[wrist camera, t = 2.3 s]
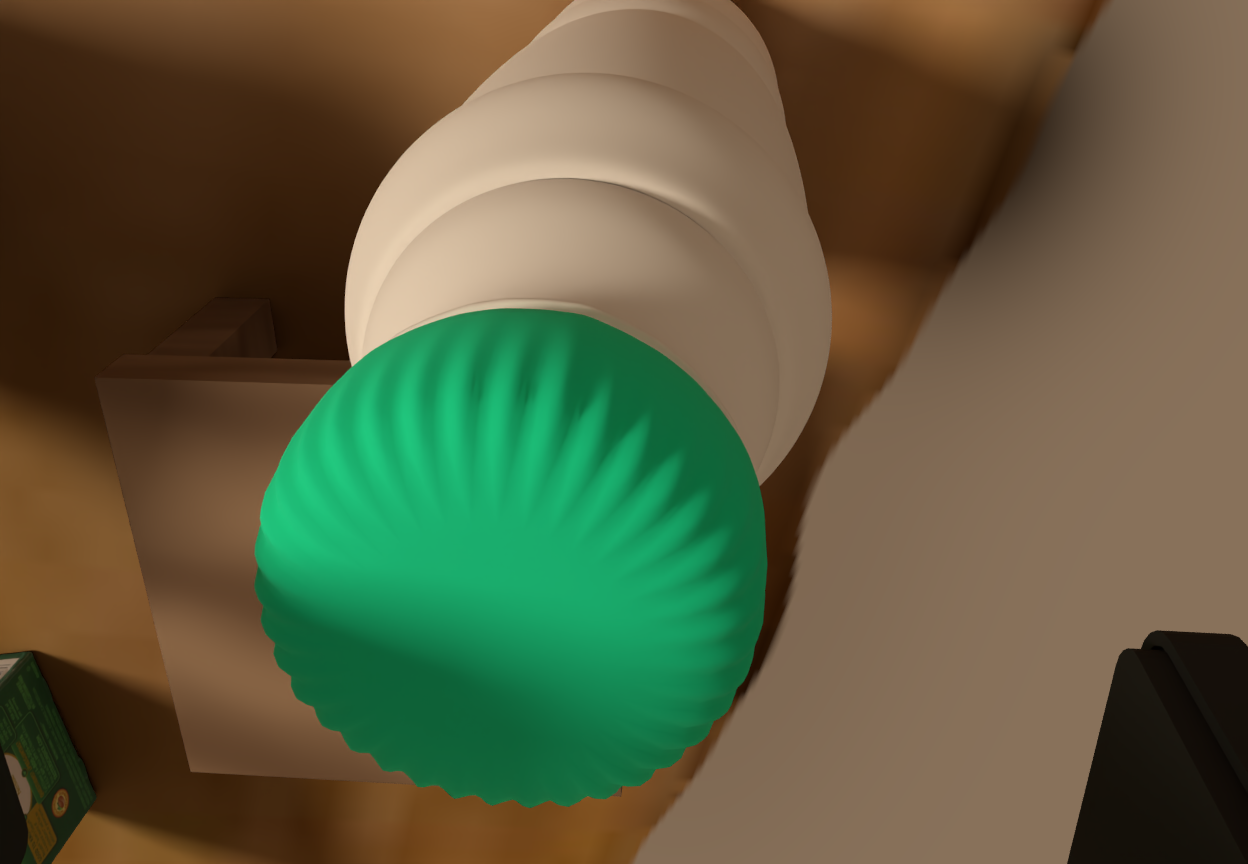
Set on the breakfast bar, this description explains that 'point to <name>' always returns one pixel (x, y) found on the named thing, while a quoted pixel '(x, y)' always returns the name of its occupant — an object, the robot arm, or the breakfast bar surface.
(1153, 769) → the robot arm
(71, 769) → the coffee box
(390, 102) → the breakfast bar surface
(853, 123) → the breakfast bar surface
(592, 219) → the water bottle
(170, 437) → the small square stand
